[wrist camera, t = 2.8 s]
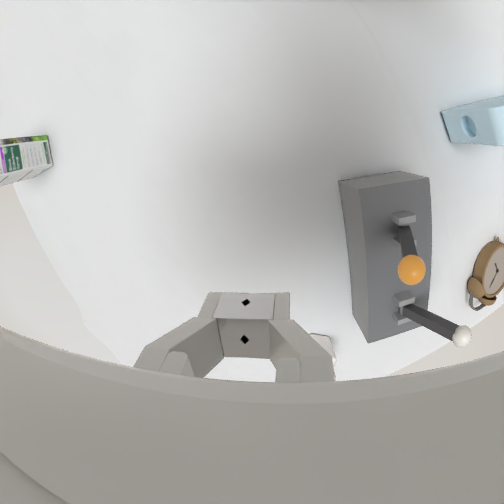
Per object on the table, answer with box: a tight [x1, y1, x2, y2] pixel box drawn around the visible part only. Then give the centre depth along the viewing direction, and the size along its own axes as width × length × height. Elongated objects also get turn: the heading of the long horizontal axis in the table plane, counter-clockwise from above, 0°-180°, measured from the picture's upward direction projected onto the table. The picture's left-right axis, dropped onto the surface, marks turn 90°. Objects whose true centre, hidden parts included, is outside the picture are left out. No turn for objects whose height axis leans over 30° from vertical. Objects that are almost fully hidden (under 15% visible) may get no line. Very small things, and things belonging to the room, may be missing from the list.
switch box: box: [338, 171, 432, 343], centre depth 34 cm, size 10×22×10 cm, turn 13°
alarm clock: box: [468, 237, 504, 311], centre depth 39 cm, size 11×5×15 cm
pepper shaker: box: [310, 334, 336, 381], centre depth 41 cm, size 4×4×10 cm
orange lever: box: [398, 224, 426, 285], centre depth 24 cm, size 3×3×12 cm
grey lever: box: [400, 303, 472, 347], centre depth 28 cm, size 3×3×12 cm
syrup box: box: [0, 136, 53, 187], centre depth 27 cm, size 6×6×14 cm
